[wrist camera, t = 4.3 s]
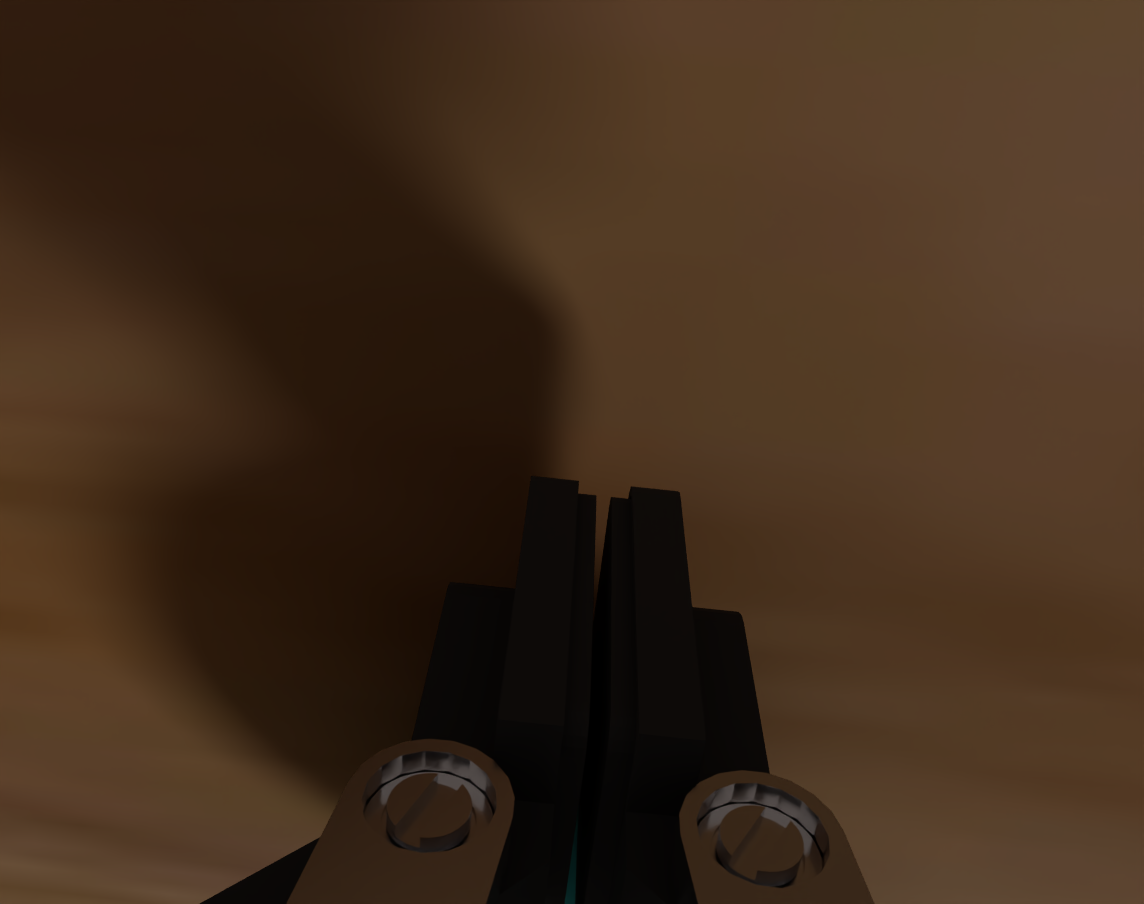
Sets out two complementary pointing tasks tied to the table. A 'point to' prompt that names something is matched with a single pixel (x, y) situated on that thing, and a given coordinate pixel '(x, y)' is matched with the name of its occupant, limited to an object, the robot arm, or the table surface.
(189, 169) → the table surface
